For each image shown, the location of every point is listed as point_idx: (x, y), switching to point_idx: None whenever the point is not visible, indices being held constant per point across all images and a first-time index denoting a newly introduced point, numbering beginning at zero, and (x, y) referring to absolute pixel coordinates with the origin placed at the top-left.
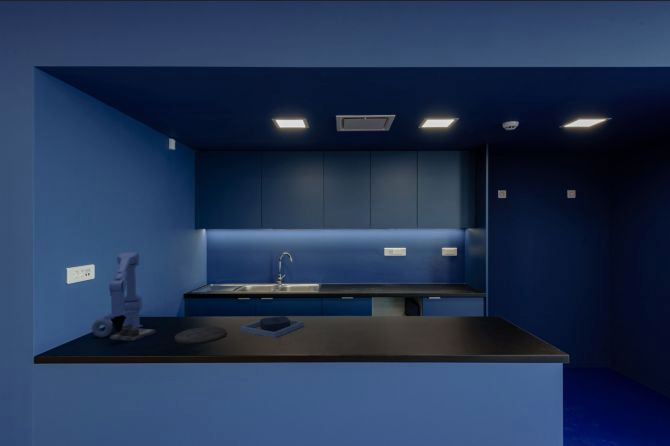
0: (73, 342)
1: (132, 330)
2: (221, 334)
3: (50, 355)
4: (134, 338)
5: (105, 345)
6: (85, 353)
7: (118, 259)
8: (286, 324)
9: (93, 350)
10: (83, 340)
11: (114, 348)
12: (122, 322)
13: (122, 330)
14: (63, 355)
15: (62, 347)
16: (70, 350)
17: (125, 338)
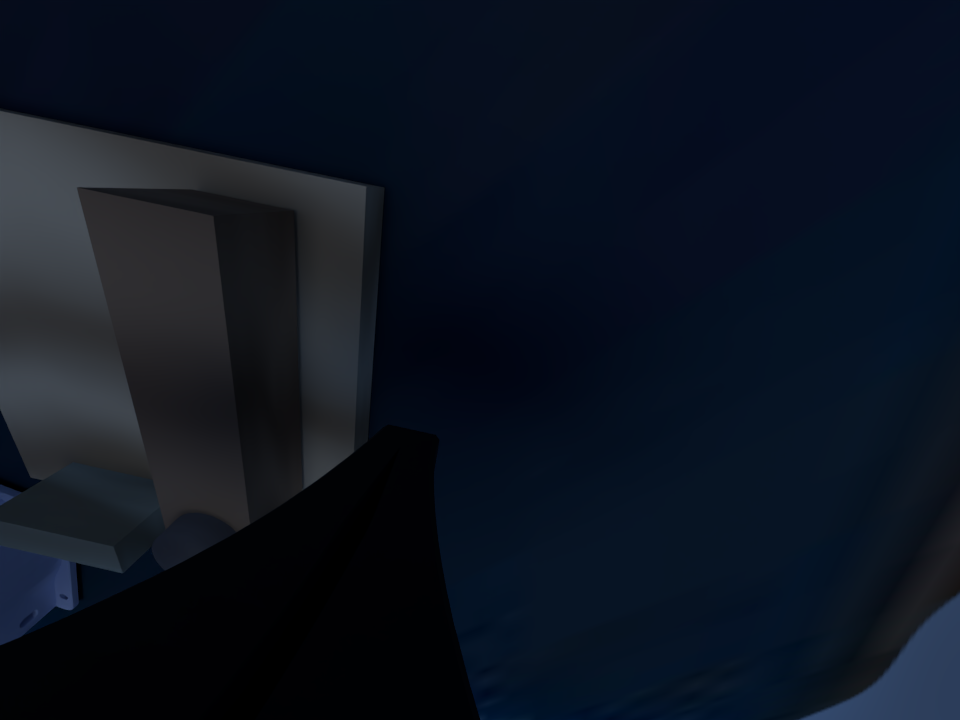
0: (493, 698)
1: (224, 267)
2: None
3: (840, 690)
4: (337, 179)
5: (589, 437)
6: (894, 473)
7: None
8: None
9: (783, 454)
10: None
11: (757, 229)
12: (261, 568)
13: (257, 475)
14: (886, 617)
15: (619, 705)
16: (721, 634)
17: (365, 333)
